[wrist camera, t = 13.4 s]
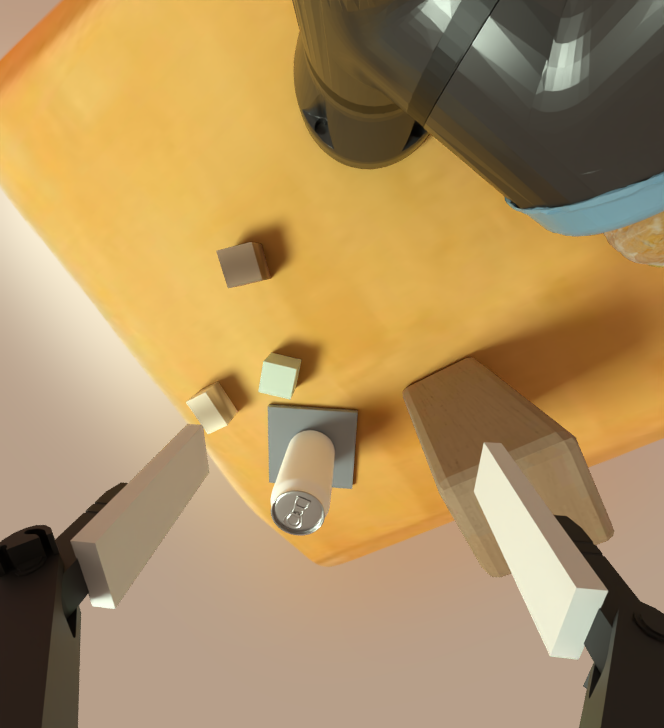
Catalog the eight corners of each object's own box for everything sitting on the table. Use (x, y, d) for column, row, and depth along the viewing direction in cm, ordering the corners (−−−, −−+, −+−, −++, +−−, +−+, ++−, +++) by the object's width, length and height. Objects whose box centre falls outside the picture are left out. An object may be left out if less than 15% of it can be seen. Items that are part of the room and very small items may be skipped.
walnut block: (229, 252, 38) (216, 250, 34) (261, 244, 38) (251, 241, 34) (240, 285, 39) (228, 288, 35) (271, 278, 39) (262, 279, 35)
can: (281, 458, 45) (257, 524, 34) (299, 421, 43) (280, 478, 32) (323, 476, 46) (314, 547, 34) (342, 440, 44) (339, 502, 32)
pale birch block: (200, 390, 44) (185, 402, 40) (218, 380, 43) (205, 392, 39) (220, 419, 45) (208, 434, 41) (238, 411, 44) (227, 425, 41)
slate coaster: (269, 404, 44) (267, 406, 43) (357, 410, 43) (357, 412, 42) (270, 478, 47) (269, 482, 46) (352, 485, 47) (352, 488, 46)
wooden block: (431, 447, 44) (491, 587, 25) (398, 388, 42) (437, 492, 23) (501, 416, 42) (625, 542, 23) (471, 352, 40) (580, 433, 21)
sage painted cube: (271, 352, 41) (263, 361, 38) (301, 359, 42) (296, 369, 38) (266, 380, 43) (258, 391, 39) (295, 387, 43) (290, 399, 39)
